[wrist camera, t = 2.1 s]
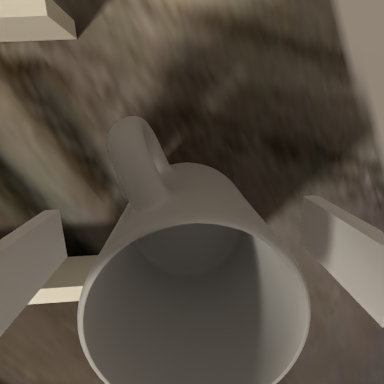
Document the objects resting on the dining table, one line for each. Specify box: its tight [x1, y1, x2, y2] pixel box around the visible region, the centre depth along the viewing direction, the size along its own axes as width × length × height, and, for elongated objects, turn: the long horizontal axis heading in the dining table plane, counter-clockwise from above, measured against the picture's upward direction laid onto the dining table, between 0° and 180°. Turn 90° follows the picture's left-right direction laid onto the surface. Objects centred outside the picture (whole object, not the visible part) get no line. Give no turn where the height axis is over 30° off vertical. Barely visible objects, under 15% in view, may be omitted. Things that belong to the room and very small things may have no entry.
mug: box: [77, 116, 311, 384], centre depth 15 cm, size 12×8×11 cm
